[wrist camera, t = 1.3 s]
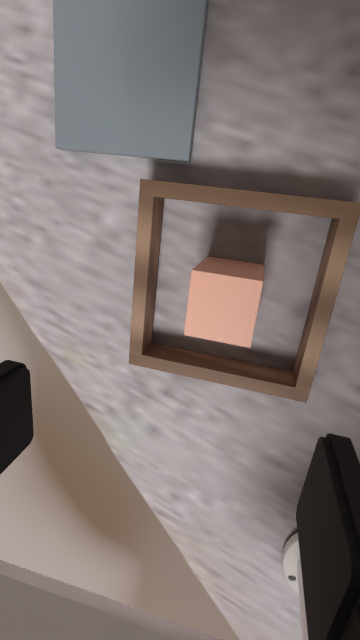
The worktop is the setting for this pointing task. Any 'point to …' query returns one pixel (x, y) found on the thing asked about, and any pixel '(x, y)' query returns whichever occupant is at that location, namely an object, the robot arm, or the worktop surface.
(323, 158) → the worktop surface
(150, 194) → the brown wooden square frame
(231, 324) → the terracotta block
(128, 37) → the slate mat
